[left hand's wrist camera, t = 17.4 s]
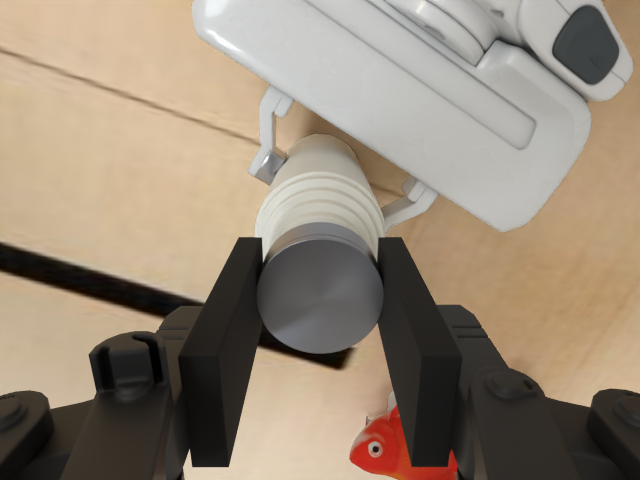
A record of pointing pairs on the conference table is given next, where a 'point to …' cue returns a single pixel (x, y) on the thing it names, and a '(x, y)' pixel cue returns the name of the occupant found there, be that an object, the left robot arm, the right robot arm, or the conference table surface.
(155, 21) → the conference table surface
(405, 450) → the fish
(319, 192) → the bottle
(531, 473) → the left robot arm
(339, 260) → the cap
